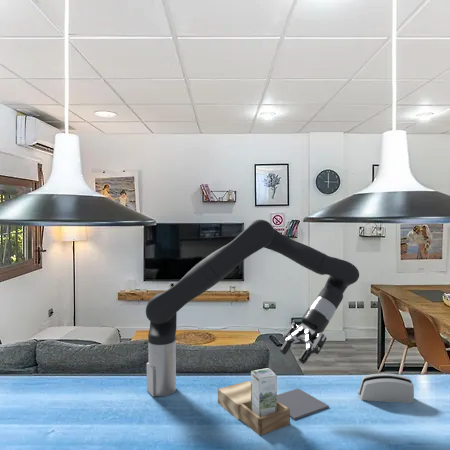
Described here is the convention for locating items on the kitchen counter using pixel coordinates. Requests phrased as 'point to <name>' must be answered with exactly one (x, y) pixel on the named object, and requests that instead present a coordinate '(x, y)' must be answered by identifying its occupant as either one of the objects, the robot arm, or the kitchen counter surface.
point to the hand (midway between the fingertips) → (291, 357)
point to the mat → (300, 403)
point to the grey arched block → (386, 388)
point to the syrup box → (263, 392)
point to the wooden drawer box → (241, 409)
